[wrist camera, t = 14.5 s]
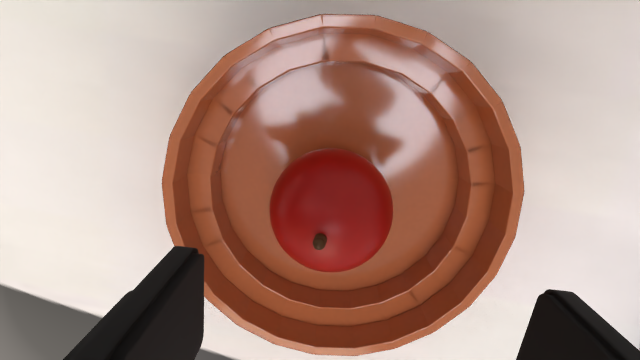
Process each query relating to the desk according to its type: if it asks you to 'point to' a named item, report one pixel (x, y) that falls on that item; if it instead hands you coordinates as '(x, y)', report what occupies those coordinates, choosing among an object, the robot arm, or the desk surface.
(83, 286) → the desk surface
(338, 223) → the apple
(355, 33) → the fruit bowl
